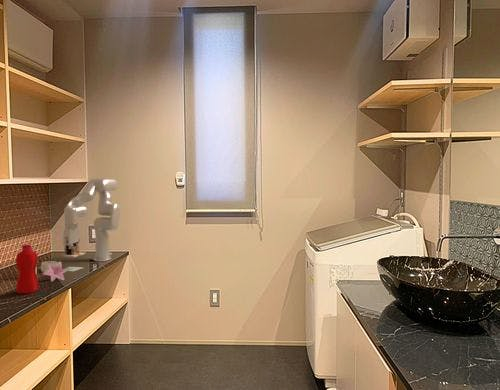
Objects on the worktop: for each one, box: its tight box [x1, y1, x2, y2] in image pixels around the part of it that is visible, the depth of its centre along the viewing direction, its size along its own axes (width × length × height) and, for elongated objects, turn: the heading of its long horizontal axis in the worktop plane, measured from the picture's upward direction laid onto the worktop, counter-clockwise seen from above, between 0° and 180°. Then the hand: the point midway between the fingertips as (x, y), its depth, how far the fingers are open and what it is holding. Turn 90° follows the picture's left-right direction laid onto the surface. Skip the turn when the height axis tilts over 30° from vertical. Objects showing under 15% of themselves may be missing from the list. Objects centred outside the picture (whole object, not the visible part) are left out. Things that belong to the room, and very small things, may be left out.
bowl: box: [40, 260, 58, 273], centre depth 257 cm, size 9×9×6 cm
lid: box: [57, 245, 87, 258], centre depth 261 cm, size 12×12×5 cm
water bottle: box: [15, 244, 39, 294], centre depth 211 cm, size 9×11×25 cm
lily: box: [42, 261, 68, 282], centre depth 237 cm, size 12×12×10 cm
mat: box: [64, 266, 83, 272], centre depth 261 cm, size 11×11×1 cm
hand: (72, 253), depth 261 cm, fingers closed on lid, 5 cm apart
